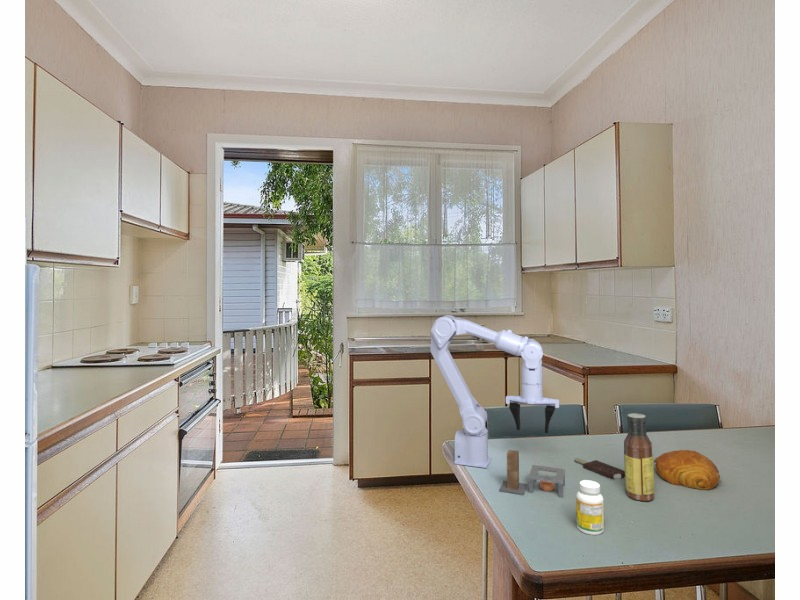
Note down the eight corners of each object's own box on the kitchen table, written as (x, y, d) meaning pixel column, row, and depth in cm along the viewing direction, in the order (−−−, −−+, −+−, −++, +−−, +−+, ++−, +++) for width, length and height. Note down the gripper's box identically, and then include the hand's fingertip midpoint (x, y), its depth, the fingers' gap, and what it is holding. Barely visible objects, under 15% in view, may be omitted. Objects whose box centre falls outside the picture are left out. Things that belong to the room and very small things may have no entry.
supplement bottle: (599, 538, 92) (599, 491, 92) (572, 530, 96) (572, 484, 95) (607, 527, 96) (606, 482, 96) (581, 519, 100) (581, 476, 99)
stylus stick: (507, 488, 115) (506, 453, 115) (508, 484, 117) (508, 449, 117) (517, 490, 114) (517, 454, 114) (519, 485, 116) (518, 450, 116)
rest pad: (499, 491, 114) (499, 489, 114) (503, 481, 120) (503, 480, 120) (523, 495, 112) (523, 493, 112) (526, 485, 117) (526, 483, 117)
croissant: (712, 480, 124) (713, 450, 125) (724, 495, 110) (724, 462, 111) (652, 470, 130) (652, 442, 131) (656, 483, 116) (656, 451, 117)
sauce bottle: (651, 492, 112) (651, 412, 112) (657, 504, 106) (656, 419, 106) (622, 489, 114) (622, 410, 114) (625, 500, 108) (625, 417, 108)
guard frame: (529, 492, 113) (528, 476, 113) (532, 479, 121) (532, 464, 121) (563, 497, 110) (562, 481, 110) (564, 484, 118) (564, 469, 118)
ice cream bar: (569, 463, 132) (615, 482, 119) (568, 457, 132) (615, 476, 119) (581, 459, 135) (628, 477, 122) (581, 454, 135) (628, 471, 122)
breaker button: (539, 489, 115) (539, 482, 114) (540, 484, 118) (540, 476, 118) (553, 492, 113) (553, 484, 113) (554, 486, 116) (554, 478, 116)
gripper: (503, 384, 128) (504, 432, 128) (558, 387, 122) (558, 437, 123) (507, 379, 134) (508, 424, 135) (559, 382, 129) (560, 430, 129)
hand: (532, 430), depth 129 cm, fingers open, 7 cm apart
